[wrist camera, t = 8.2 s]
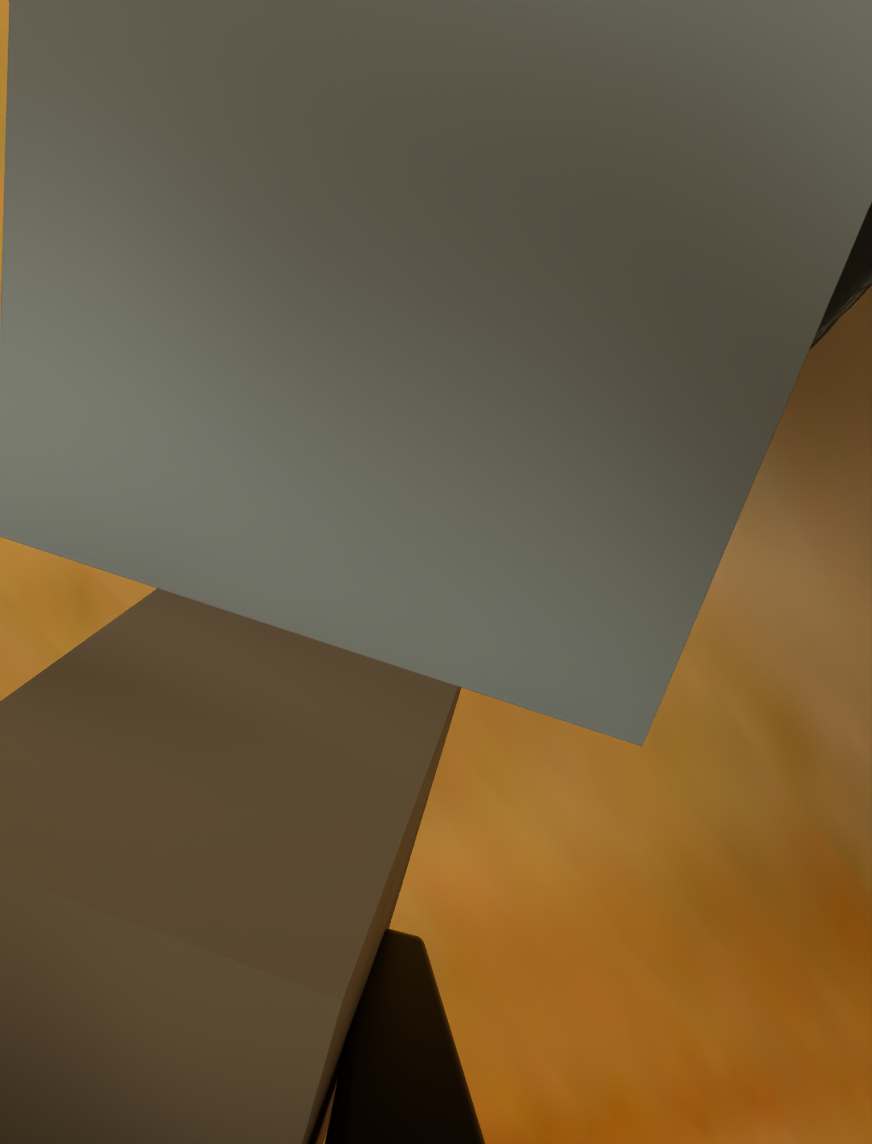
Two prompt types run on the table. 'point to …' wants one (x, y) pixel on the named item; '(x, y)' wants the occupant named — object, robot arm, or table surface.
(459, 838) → the table surface
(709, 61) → the turner
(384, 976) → the robot arm
